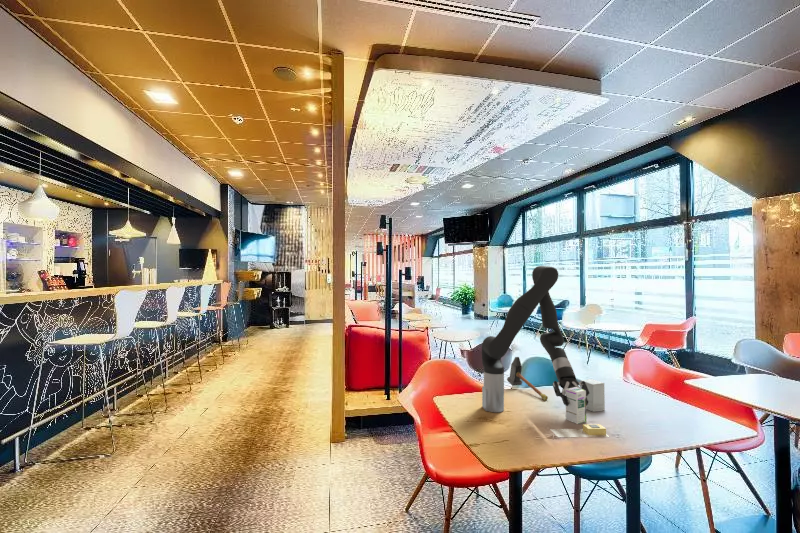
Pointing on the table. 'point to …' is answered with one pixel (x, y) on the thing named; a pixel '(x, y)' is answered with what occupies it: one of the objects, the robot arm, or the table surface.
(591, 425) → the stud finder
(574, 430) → the board
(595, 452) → the table surface
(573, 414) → the syrup box
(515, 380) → the hammer
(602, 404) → the supplement box
